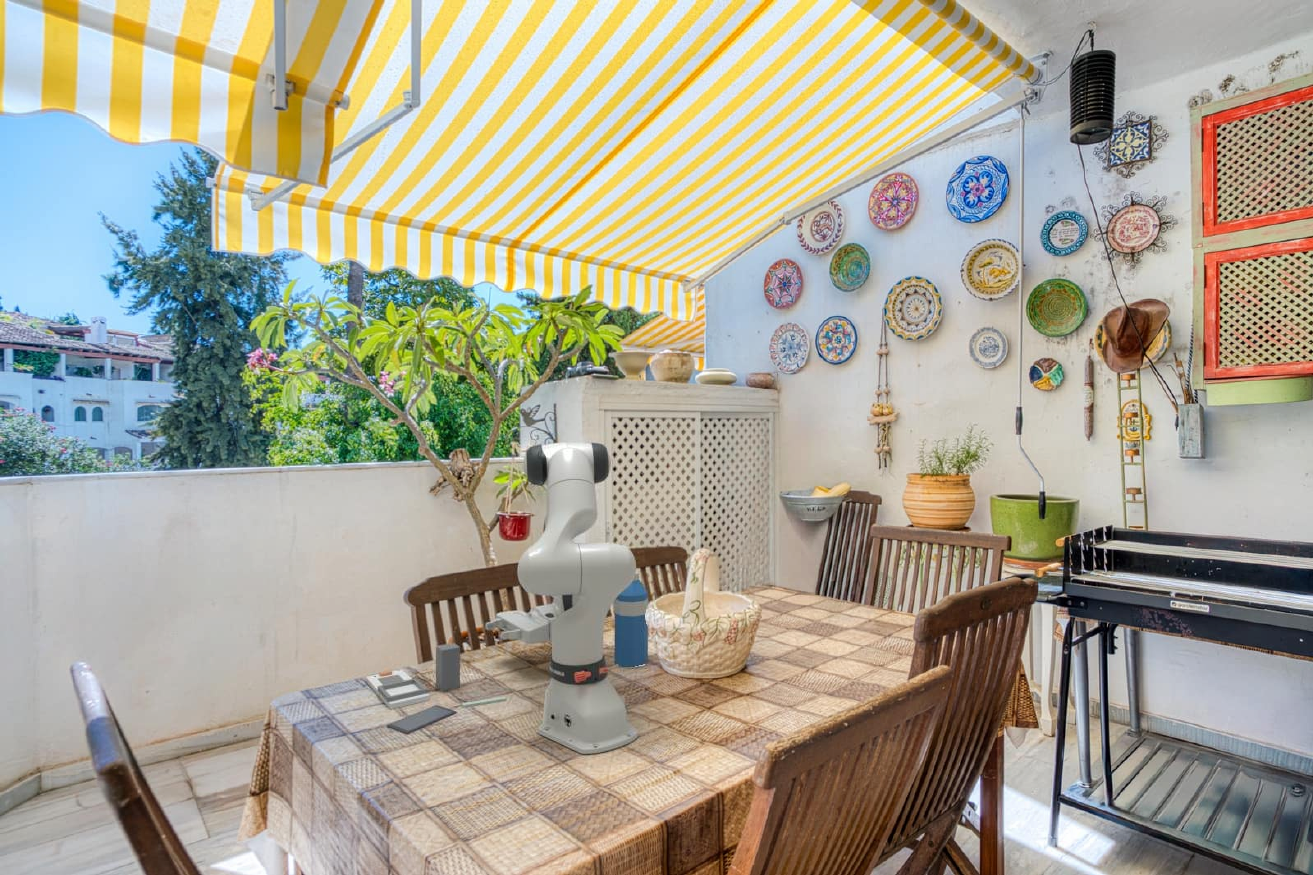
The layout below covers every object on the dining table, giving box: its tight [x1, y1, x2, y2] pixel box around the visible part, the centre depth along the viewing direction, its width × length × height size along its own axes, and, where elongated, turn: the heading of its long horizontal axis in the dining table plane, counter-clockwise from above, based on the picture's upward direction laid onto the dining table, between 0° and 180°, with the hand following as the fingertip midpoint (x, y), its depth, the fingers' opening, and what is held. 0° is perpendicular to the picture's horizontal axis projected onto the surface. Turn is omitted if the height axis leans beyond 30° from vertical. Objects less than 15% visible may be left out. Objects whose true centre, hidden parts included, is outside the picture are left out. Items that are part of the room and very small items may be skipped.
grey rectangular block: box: [435, 642, 461, 692], centre depth 164 cm, size 4×4×10 cm
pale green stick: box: [461, 696, 507, 709], centre depth 154 cm, size 10×1×1 cm, turn 115°
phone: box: [386, 704, 458, 735], centre depth 144 cm, size 7×13×1 cm, turn 147°
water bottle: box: [613, 570, 649, 668], centre depth 182 cm, size 9×9×25 cm
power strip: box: [365, 669, 431, 710], centre depth 161 cm, size 22×9×2 cm, turn 37°
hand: (493, 631), depth 172 cm, fingers open, 8 cm apart
